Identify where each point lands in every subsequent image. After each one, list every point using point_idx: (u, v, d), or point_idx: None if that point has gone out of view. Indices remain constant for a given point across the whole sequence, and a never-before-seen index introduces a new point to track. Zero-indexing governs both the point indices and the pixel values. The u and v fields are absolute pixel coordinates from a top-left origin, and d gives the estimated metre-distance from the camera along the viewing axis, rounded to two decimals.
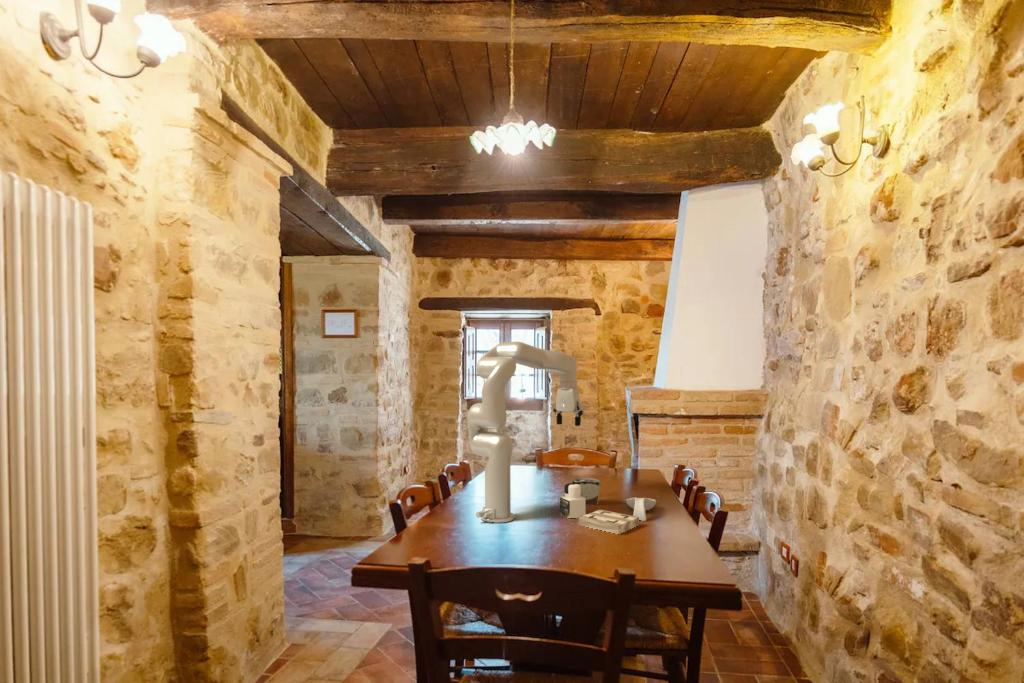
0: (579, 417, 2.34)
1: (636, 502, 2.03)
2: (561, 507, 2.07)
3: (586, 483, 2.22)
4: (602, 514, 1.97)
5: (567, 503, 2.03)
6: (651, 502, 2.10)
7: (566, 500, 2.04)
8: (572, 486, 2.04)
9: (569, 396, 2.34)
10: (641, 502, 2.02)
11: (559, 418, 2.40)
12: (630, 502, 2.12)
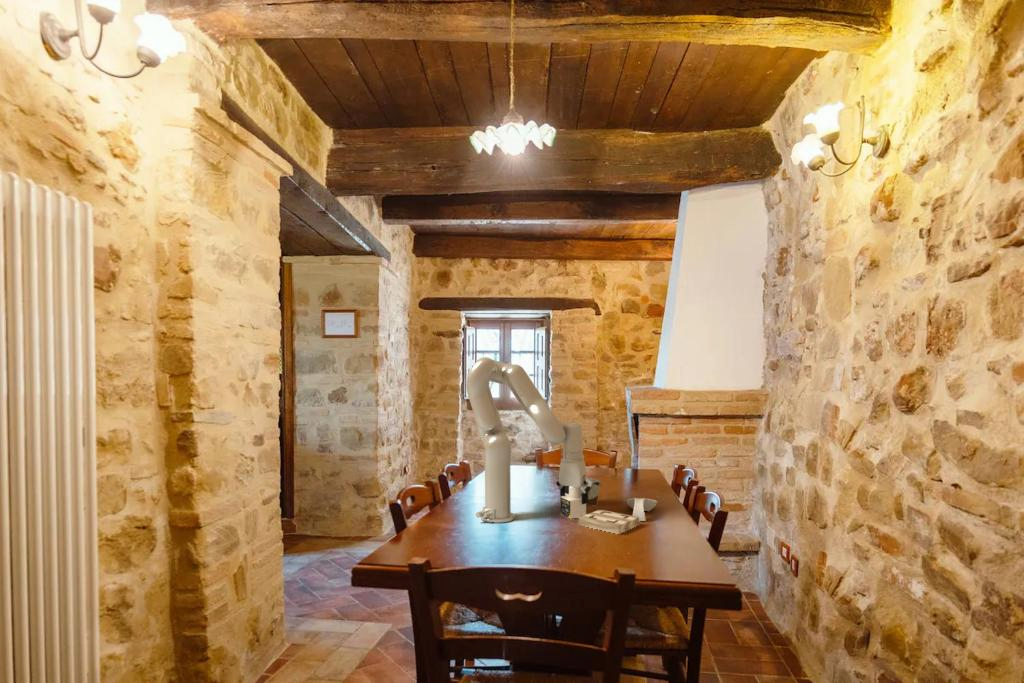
0: (586, 494, 2.03)
1: (636, 502, 2.02)
2: (562, 507, 2.07)
3: None
4: (602, 514, 1.97)
5: (567, 503, 2.03)
6: (652, 503, 2.10)
7: (567, 500, 2.03)
8: None
9: (574, 469, 2.03)
10: (641, 503, 2.01)
11: (563, 493, 2.09)
12: (631, 502, 2.12)
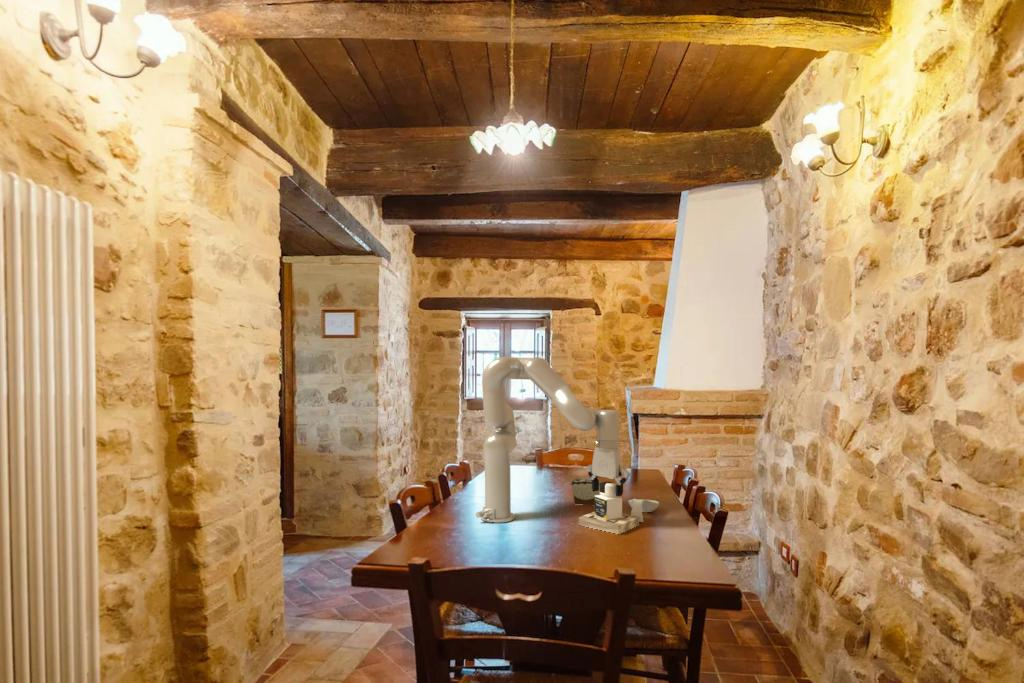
0: (621, 485, 1.90)
1: (634, 503, 2.01)
2: (596, 507, 1.94)
3: (586, 483, 2.22)
4: None
5: (603, 503, 1.90)
6: (652, 504, 2.08)
7: (602, 499, 1.91)
8: (609, 485, 1.91)
9: (609, 459, 1.91)
10: (639, 504, 2.00)
11: (595, 484, 1.97)
12: (631, 503, 2.10)
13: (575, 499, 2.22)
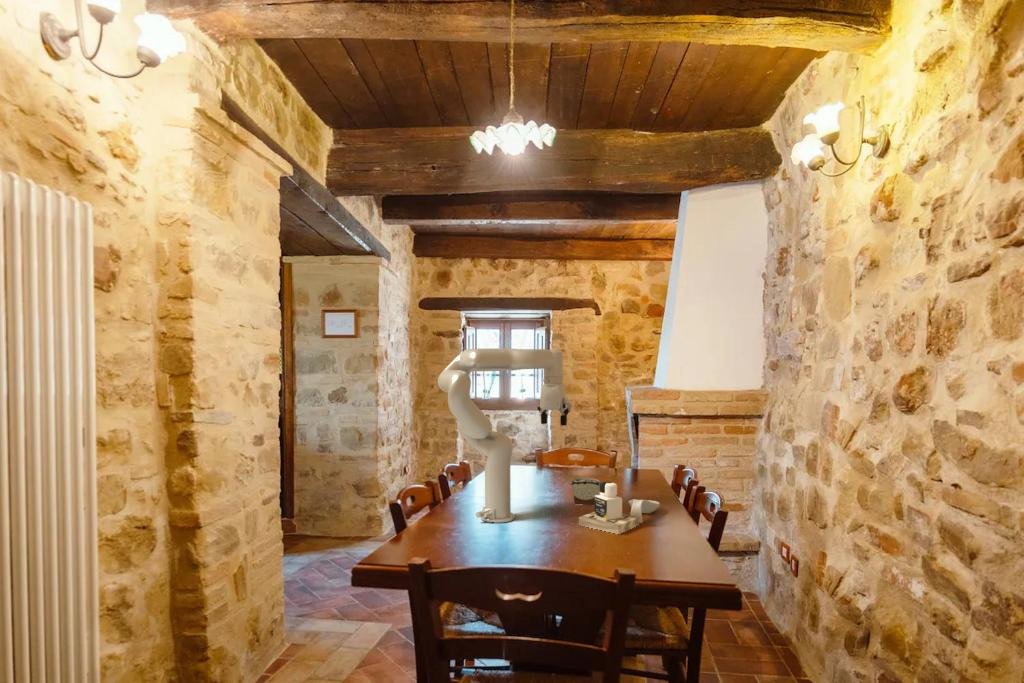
0: (565, 416, 2.13)
1: (634, 504, 2.00)
2: (596, 507, 1.94)
3: (586, 483, 2.22)
4: None
5: (603, 503, 1.90)
6: (652, 504, 2.07)
7: (602, 499, 1.91)
8: (609, 485, 1.91)
9: (554, 393, 2.14)
10: (639, 504, 1.99)
11: (544, 417, 2.20)
12: (631, 504, 2.10)
13: (575, 499, 2.22)
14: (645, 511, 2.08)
